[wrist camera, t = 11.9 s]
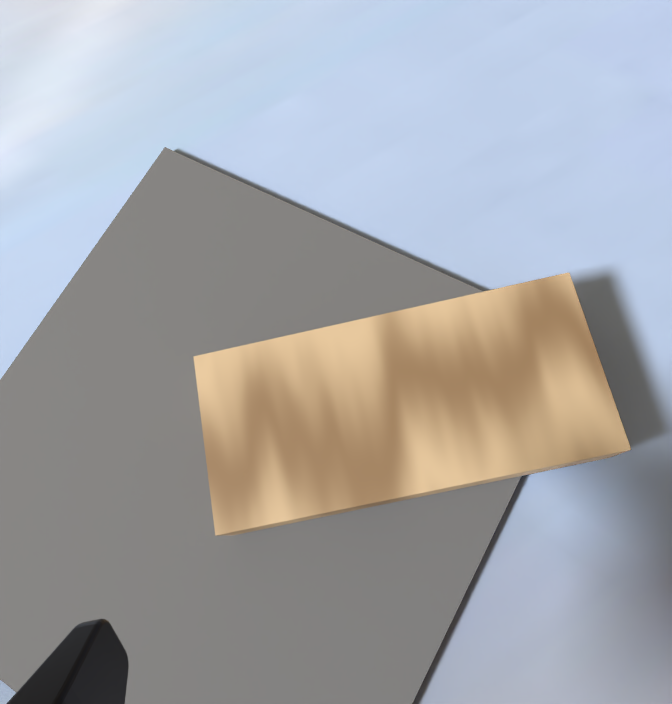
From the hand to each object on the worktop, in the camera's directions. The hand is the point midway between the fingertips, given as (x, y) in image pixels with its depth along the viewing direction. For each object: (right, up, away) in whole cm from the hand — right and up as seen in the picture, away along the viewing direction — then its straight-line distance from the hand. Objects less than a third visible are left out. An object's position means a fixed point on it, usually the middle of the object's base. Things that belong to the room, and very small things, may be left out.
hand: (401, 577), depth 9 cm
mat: (-5, -1, +13) cm, 14 cm away
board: (-5, 0, +12) cm, 13 cm away
